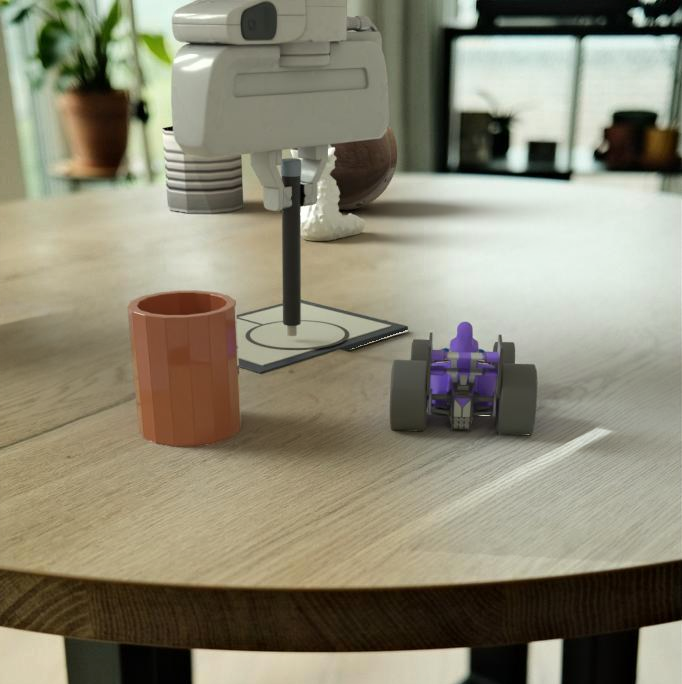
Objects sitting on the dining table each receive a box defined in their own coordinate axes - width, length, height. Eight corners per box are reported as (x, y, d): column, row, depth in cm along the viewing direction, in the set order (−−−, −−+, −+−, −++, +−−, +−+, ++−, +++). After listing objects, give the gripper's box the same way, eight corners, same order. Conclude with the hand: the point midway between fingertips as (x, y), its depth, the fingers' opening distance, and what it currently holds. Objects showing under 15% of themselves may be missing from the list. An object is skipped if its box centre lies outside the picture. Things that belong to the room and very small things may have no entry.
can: (152, 211, 147) (145, 122, 142) (189, 199, 157) (184, 115, 152) (223, 215, 144) (218, 125, 138) (257, 203, 153) (254, 118, 148)
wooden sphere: (391, 219, 141) (394, 103, 135) (285, 217, 143) (282, 102, 136) (399, 201, 155) (402, 95, 148) (302, 199, 156) (300, 94, 150)
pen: (278, 335, 86) (276, 159, 80) (292, 331, 87) (291, 157, 81) (291, 339, 85) (290, 161, 79) (305, 335, 86) (305, 159, 80)
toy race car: (521, 375, 80) (528, 293, 77) (533, 447, 67) (541, 352, 64) (400, 371, 81) (403, 290, 78) (388, 441, 68) (390, 347, 65)
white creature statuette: (366, 232, 133) (367, 134, 128) (350, 245, 126) (350, 142, 120) (296, 228, 135) (294, 132, 130) (277, 241, 128) (274, 140, 122)
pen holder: (120, 434, 69) (106, 303, 65) (198, 409, 73) (189, 285, 70) (183, 461, 65) (173, 323, 61) (262, 433, 69) (257, 302, 65)
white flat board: (150, 343, 88) (149, 335, 88) (298, 304, 100) (298, 297, 99) (260, 379, 79) (260, 370, 79) (408, 332, 91) (408, 324, 91)
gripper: (351, 15, 84) (349, 188, 90) (152, 14, 71) (165, 218, 77) (410, 16, 80) (404, 197, 86) (210, 15, 67) (220, 229, 73)
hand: (290, 207), depth 81 cm, fingers closed on pen, 1 cm apart
